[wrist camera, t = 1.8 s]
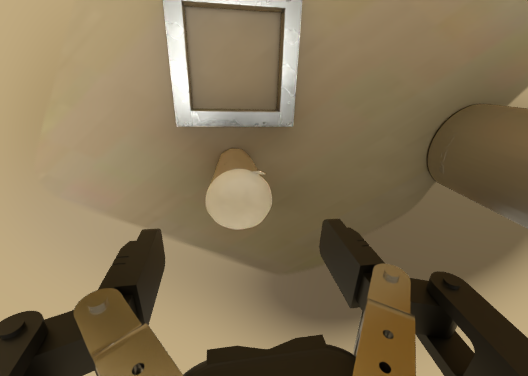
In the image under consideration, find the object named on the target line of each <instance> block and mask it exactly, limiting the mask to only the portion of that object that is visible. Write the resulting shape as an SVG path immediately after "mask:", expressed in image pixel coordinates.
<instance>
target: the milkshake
mask: <svg viewBox="0 0 528 376" xmlns="http://www.w3.org/2000/svg"><path fill="white" fill-rule="evenodd" d="M261 174H266V173H265V172H262V171H258V169H257V167H256V166H255V164H254V162H253V161H252V159H251V157H250V156H249V155H248V154H247V153H246V152H244V151H243V150H242V149H235V148H230V149H229V150H227V151H225V152H223V153H222V154H221V156H220V158H219V161H218V163H217V166H216V169H215V173H214V176H213V178H212V180H211V183H210V185H209V188H208V190H207V193H206V201H205V202H206V208H207V211H208V212H209V214H210V215H211V217H212V218H213V219H214V220H215V221H216V222H217V223H218V224H220V225H222V226H224V227H227V228H230V229H246V228H251V227H254V226H256V225H258V224H259V223H260V222H262V221H263V220H264V218H265V217H266V216H267V214H268V212H269V211H270V209H271V206H272V194H271V190H270V187H269V185H268V183H267V182H266V181H265V179H264V178H263V177H262V175H261Z"/></svg>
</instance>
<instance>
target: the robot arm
mask: <svg viewBox="0 0 528 376" xmlns="http://www.w3.org/2000/svg"><path fill="white" fill-rule="evenodd" d="M428 168H429V171H430V174H431V175H432V177H433V179H434V180H435V181H437V182H438V183H440V184H442V185H443V186H445V187H448V188H449V189H451V190H453V191H455V192H457V193H459V194H461V195H463V196H465V197H467V198H469V199H470V200H472V201H474V202H476V203H478V204H480V205H482V206H484V207H486V208H488V209H490V210H492V211H494V212H496V213H498V214H500V215H502V216H504V217H506V218H508V219H510V220H512V221H514V222H516V223H518V224H520V225H522V226H524V227H526V228H528V109H526V108H518V107H509V106H500V105H491V104H477V105H472V106H469V107H467V108H464V109H462V110H460V111H459V112H457V113H456V114H454V115H453V116H452V117H451V118H449V119H448V120H447V121H446V122H445V123H444V124H443V126H442V127H441V128H440V129H439V131H438V132H437V134H436V136H435V137H434V139H433V141H432V144H431V146H430V149H429V154H428ZM319 247H320V254H321V257H322V258H323V260H324V262H325V264H326V266H327V267H328V269H329V271H330V273H331V275H332V276H333V278H334V280H335V282H336V283H337V285H338V287H339V289H340V291H341V292H342V294H343V296H344V297H345V300H346V301H347V303H348V305H349V307H350V308H357V307H360V308H361V309H362V314H361V319H360V323H359V329H358V333H357V337H356V342H355V346H354V351H353V354H351V353H350V352H348V351H346V350H344V349H341V348H339V347H336V346H332V345H327V344H326V343H325V340H324V338H323V335H316V336H308V337H300V338H295V339H293V340H290V341H288V342H285V343H283V344H280V345H278V346H276V347H273V348H271V349H258V348H250V347H242V346H232V347H225V348H217V349H210V350H207V360H206V361H204V362H202V363H200V364H198V365H196V366H194V367H193V368H191V369H190V370H189V371H187V372H186V373H185V374H184V375H183V374H182V373H181V371H180V370H179V368H178V367H177V366H176V364H175V363H174V361H173V360H172V358H171V357H170V356H169V355H168V353H167V351H166V350H165V348H164V347H163V346H162V344H161V343H160V341H159V340H158V338H157V337H156V335H155V334H154V333H153V331H152V330H151V329H150V327H149V326H148V325H149V321H150V318H151V314H152V310H153V307H154V303H155V300H156V296H157V293H158V289H159V286H160V282H161V278H162V275H163V272H164V267H165V254H164V247H163V240H162V234H161V230H160V229H144V230H142V231H141V233H140V235H139V237H138V239H137V241H130V242H128V243H127V244H126V245H125V246H123V247H122V248H121V249H120V251H119V253H118V255H117V256H116V259H115V260H114V262H113V264H112V266H111V267H110V269H109V271H108V272H107V274H106V276H105V278H104V280H103V281H102V283H101V285H100V287H99V289H98V290H97V291H94V292H92V293H90V294H88V295H87V296H85V297H84V298H83V299H81V300H80V301H79V302H78V304H77V305H76V306H75V308H74V310H72V311H70V312H67V313H64V314H61V315H58V316H54V317H51V318H48V319H45V320H44V319H43V316H42V314H40V313H39V312H36V311H26V312H21V313H18V314H15V315H12V316H10V317H8V318H6V319H4V320H3V321H1V322H0V376H83V375H85V374H87V373H90V372H92V371H95V373H96V375H97V376H416V347H415V346H416V344H415V334H416V335H417V337H418V338H419V340H420V341H421V343H422V344H423V345H424V347H425V348H426V350H427V351H428V353H429V354H430V356H431V357H432V358H433V360H434V361H435V363H436V364H437V366H438V367H439V369H440V370H441V372H442V373H443V375H444V376H528V338H527V337H526V336H525V335H524V334H523V333H522V332H520V331H519V330H518V329H517V328H516V327H515V326H514V325H513V324H512V323H511V322H509V321H508V320H507V319H506V318H505V317H504V316H503V315H502V314H501V313H499V312H498V311H497V310H496V309H495V308H494V307H493V306H491V304H490V303H488V302H487V301H486V300H485V299H484V298H483V297H482V296H481V295H480V294H478V293H477V292H476V291H475V290H474V289H473V288H472V287H471V286H470V285H469V284H467V283H466V282H465V281H464V280H462V279H461V278H459V277H457V276H455V275H453V274H450V273H446V272H434V273H432V274H431V276H430V279H429V281H425V280H419V279H413V278H409V276H408V274H407V273H406V272H405V271H403V270H402V269H400V268H398V267H396V266H394V265H391V264H385V263H384V262H383V261H382V259H381V258H380V257H379V256H378V255H377V254H376V253H375V251H374V250H373V249H372V248H371V247H370V246H369V245H368V243H367V242H366V241H364V239H363V238H362V237H361V235H360V234H359V233H358V232H356V231H354V230H353V229H351V228H347V227H346V226H345V225H344V224H343V222H342V221H341V220H340V219H326V220H324V221H323V224H322V231H321V238H320V246H319ZM457 325H458V326H459V327H460V328H461V330H462V331H463V332H464V333H465V334H466V336H467V337H468V338H469V339H470V340H471V342H472V344H473V346H474V350H475V353H474V352H473V351H472V350H471V349H470V348H469V346H468V345H467V344H466V343H465V342H464V341H463V340H462V338H461V337H460V336H459V335H458V334H457V332H456V331H455V329H456V327H457Z"/></svg>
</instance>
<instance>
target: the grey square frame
mask: <svg viewBox="0 0 528 376" xmlns="http://www.w3.org/2000/svg"><path fill="white" fill-rule="evenodd" d="M184 6H194V7H209V8H224V9H239V10H254V11H269V12H281V31H280V52H279V74H278V96H277V110H241V109H193V108H192V96H191V83H190V71H189V59H188V47H187V34H186V22H185V10H184ZM163 8H164V17H165V26H166V35H167V44H168V53H169V63H170V72H171V81H172V90H173V99H174V109H175V118H176V127H293V122H294V108H295V95H296V81H297V67H298V53H299V40H300V26H301V12H302V0H163Z"/></svg>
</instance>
